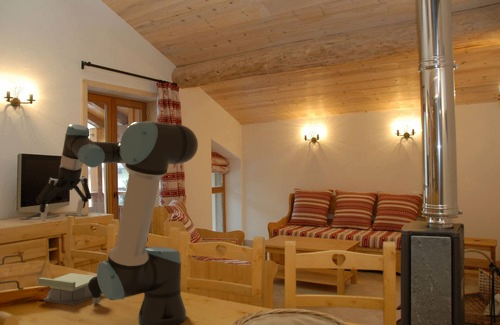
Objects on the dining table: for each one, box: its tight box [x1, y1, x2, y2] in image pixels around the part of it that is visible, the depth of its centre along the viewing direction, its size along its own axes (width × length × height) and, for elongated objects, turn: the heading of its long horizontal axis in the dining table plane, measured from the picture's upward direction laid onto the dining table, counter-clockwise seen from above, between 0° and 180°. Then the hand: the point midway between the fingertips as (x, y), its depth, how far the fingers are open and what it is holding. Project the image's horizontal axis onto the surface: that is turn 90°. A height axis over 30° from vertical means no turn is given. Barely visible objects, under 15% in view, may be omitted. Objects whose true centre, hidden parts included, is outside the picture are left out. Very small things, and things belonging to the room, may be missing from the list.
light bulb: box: [88, 275, 102, 306], centre depth 148 cm, size 6×6×10 cm
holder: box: [43, 286, 103, 306], centre depth 157 cm, size 16×16×5 cm
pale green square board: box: [38, 272, 97, 291], centre depth 157 cm, size 16×16×3 cm
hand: (61, 217), depth 156 cm, fingers open, 13 cm apart
